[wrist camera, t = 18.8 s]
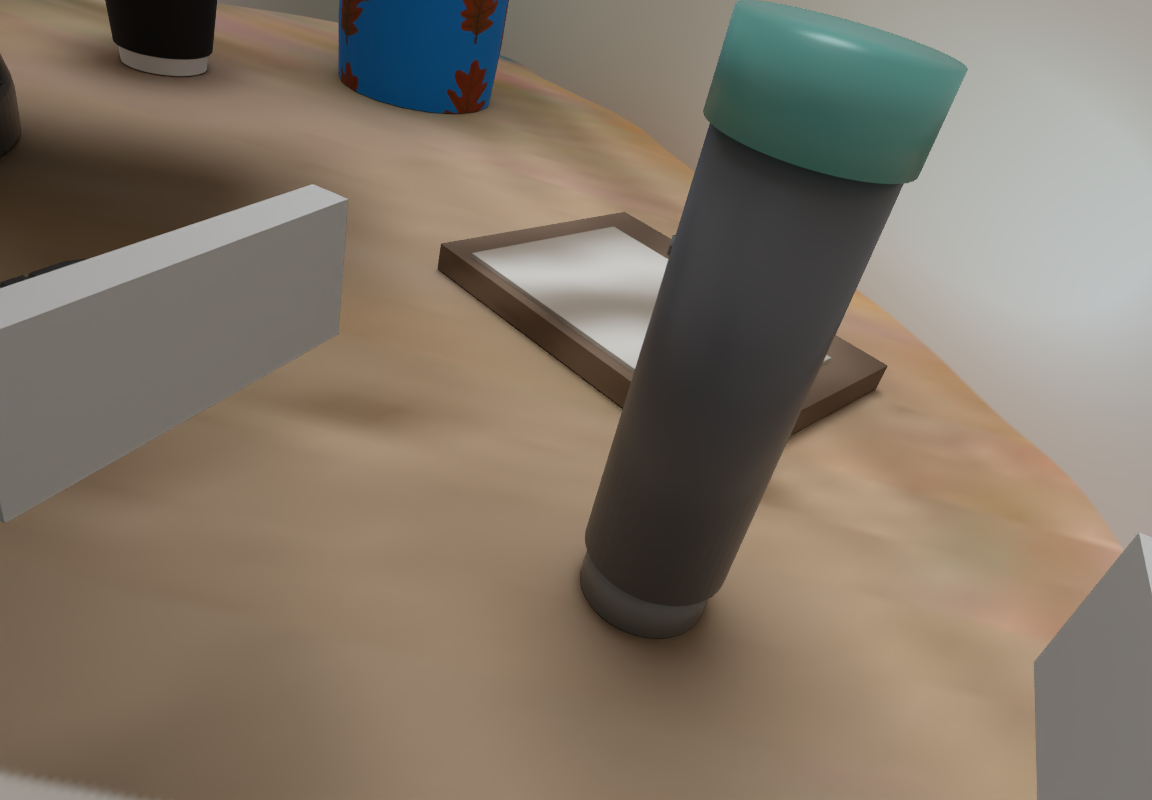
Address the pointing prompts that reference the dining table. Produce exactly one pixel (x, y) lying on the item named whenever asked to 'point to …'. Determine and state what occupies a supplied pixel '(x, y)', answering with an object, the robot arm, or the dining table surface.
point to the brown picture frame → (608, 302)
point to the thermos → (422, 51)
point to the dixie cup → (164, 34)
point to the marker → (754, 294)
